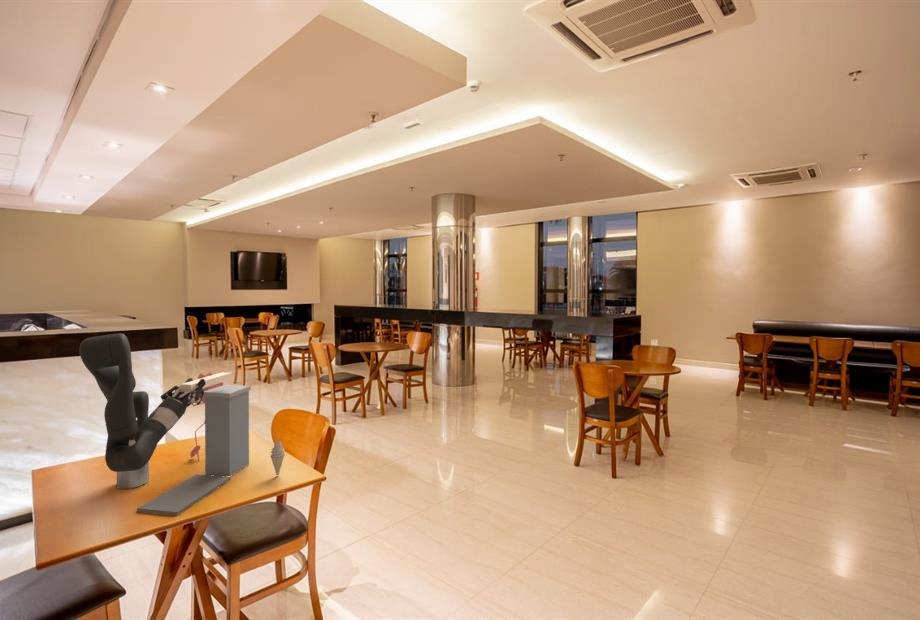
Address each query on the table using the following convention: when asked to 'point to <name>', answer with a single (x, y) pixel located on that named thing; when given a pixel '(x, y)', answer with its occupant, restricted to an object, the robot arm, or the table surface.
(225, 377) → the slat
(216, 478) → the mat
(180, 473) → the table surface
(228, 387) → the pedestal
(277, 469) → the ice cream cone
